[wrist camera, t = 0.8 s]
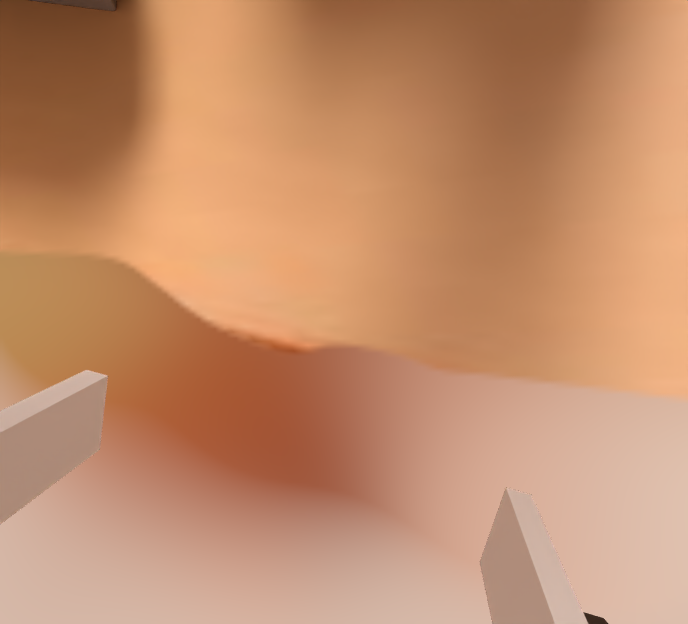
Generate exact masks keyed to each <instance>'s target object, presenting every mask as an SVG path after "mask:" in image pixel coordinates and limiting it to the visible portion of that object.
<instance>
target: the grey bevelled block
mask: <svg viewBox="0 0 688 624" xmlns="http://www.w3.org/2000/svg"><path fill="white" fill-rule="evenodd" d="M31 1H38V2H46V3H54V4H62V5H69V6H77V7H85V8H93V9H100V10H108V11H115V10H116V0H31Z"/></svg>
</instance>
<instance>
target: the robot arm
mask: <svg viewBox="0 0 688 624" xmlns="http://www.w3.org/2000/svg"><path fill="white" fill-rule="evenodd" d="M107 379H108V376H106V375H103V374H99V373H96V372H92V371H89V370H85V371H83V372H81V373H79V374H77V375H75V376H72V377H70V378H68V379H66V380H64V381H62V382H60V383H58V384H56V385H53V386H51V387H49V388H47V389H45V390H43V391H41V392H39V393H37V394H34V395H32V396H31V397H28V398H26V399H24V400H22V401H20V402H18V403H16V404H13V405H11V406H9V407H7V408H5V409H3V410H1V411H0V524H1V523H3V522H4V521H5V520H7V519H8V518H9V517H11V516H12V515H13V514H15V513H16V512H17V511H18V510H20V509H21V508H23V507H24V506H25V505H27V504H28V503H29V502H31V501H32V500H33V499H35V498H36V497H37V496H38V495H40V494H41V493H43V492H44V491H45V490H46V489H48V488H49V487H51V486H52V485H53V484H55V483H56V482H57V481H59V480H60V479H61V478H62V477H64V476H65V475H66V474H68V473H69V472H71V471H72V470H73V469H75V467H77V466H78V465H80V464H81V463H83V462H84V461H85V460H87V459H88V458H89V457H90V456H92V455H93V454H94V453H96V452H97V451H98V450H99V449H100V442H101V441H100V440H101V432H102V423H103V415H104V405H105V396H106V387H107ZM480 566H481V570H482V575H483V580H484V585H485V590H486V595H487V600H488V605H489V609H490V614H491V619H492V624H608V623H607V622H606V620H605V619H604V618H601V617H598V616H594V615H591V614H588V613H584V612H583V611H582V608H581V606H580V604H579V602H578V600H577V597H576V595H575V593H574V590H573V588H572V586H571V583H570V581H569V579H568V577H567V574H566V572H565V570H564V568H563V565H562V563H561V561H560V558H559V556H558V554H557V552H556V549H555V547H554V545H553V543H552V541H551V538H550V536H549V534H548V531H547V529H546V527H545V524H544V522H543V520H542V518H541V515H540V513H539V511H538V509H537V507H536V504H535V502H534V499H533V497H532V495H531V494H528V493H524V492H521V491H517V490H514V489H510V488H507V487H506V489H505V492H504V495H503V497H502V500H501V503H500V506H499V509H498V512H497V514H496V517H495V520H494V523H493V526H492V529H491V532H490V534H489V537H488V541H487V543H486V546H485V549H484V552H483V554H482V557H481V560H480Z"/></svg>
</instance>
